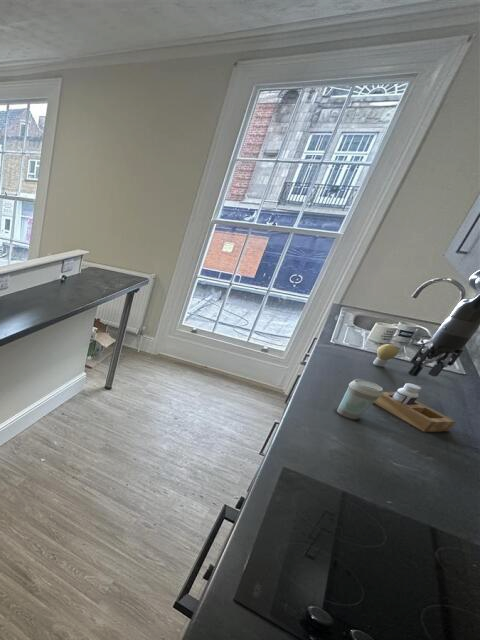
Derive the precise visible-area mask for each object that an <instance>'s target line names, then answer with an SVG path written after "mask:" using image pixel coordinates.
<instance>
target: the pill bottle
mask: <svg viewBox="0 0 480 640" xmlns="http://www.w3.org/2000/svg"><path fill="white" fill-rule="evenodd" d="M421 389H422V387H421V386H419V385H416V384H414V383H409V382H406V383H405V384H404V385H403V387H400V388H398V389H397V390H396V391H395V392H396V393H395V394H394V396H393V397H392V398H393V399H395V400H397V401H399V402H401V403H403V404H404V405H412V404H413V403H414V402H415V400H416V401H417V400H418V398H419V393H420V391H421Z"/></svg>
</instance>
